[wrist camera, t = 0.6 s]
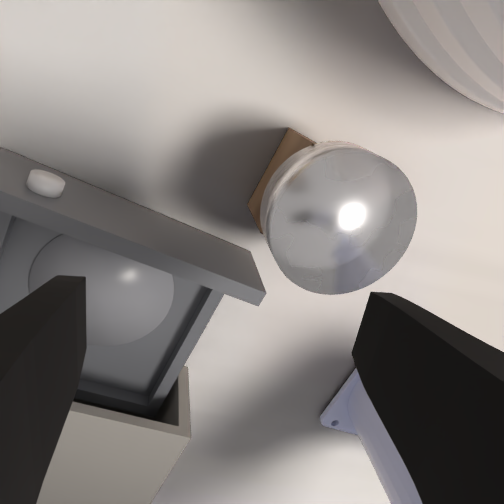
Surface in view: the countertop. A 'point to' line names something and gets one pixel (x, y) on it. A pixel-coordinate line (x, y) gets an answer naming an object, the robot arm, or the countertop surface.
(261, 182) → the brown cube
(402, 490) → the robot arm
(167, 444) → the block
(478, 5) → the plate stack
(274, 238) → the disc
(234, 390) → the countertop surface
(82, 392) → the tray
